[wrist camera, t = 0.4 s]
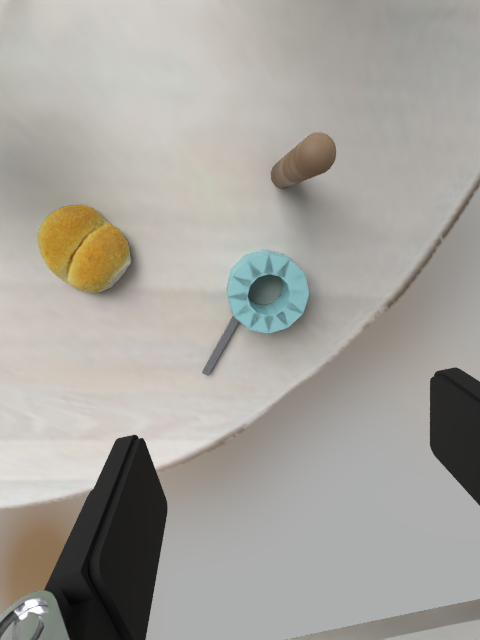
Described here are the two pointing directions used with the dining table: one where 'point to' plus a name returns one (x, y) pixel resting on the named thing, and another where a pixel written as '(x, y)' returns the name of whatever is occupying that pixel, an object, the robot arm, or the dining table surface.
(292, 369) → the dining table surface
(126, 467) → the robot arm
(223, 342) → the thin grey bar
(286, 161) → the round-ended wooden dowel
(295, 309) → the bead
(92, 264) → the bread roll
